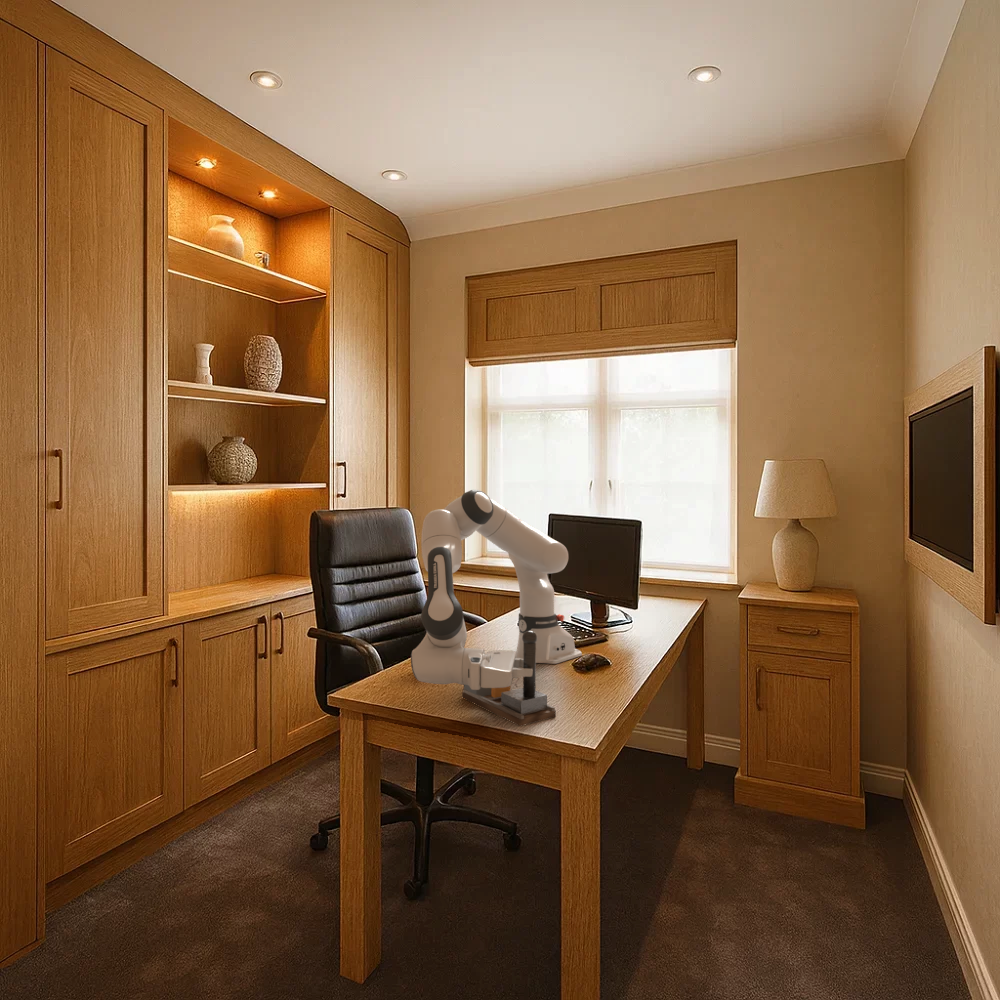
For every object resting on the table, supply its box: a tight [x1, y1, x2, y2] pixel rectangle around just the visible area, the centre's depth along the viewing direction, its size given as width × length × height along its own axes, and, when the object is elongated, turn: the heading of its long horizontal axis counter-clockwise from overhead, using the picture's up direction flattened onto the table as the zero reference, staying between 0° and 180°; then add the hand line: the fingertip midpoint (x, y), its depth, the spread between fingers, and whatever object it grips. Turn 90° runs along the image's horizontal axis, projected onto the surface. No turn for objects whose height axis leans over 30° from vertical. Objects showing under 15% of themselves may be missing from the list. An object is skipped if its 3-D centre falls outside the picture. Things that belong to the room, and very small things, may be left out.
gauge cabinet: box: [463, 685, 491, 696], centre depth 184 cm, size 10×6×5 cm, turn 126°
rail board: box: [461, 688, 557, 727], centre depth 176 cm, size 11×25×2 cm, turn 36°
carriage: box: [501, 631, 548, 715], centre depth 170 cm, size 8×8×20 cm
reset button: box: [491, 685, 512, 698], centre depth 178 cm, size 5×2×2 cm, turn 126°
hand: (533, 668), depth 169 cm, fingers open, 5 cm apart
